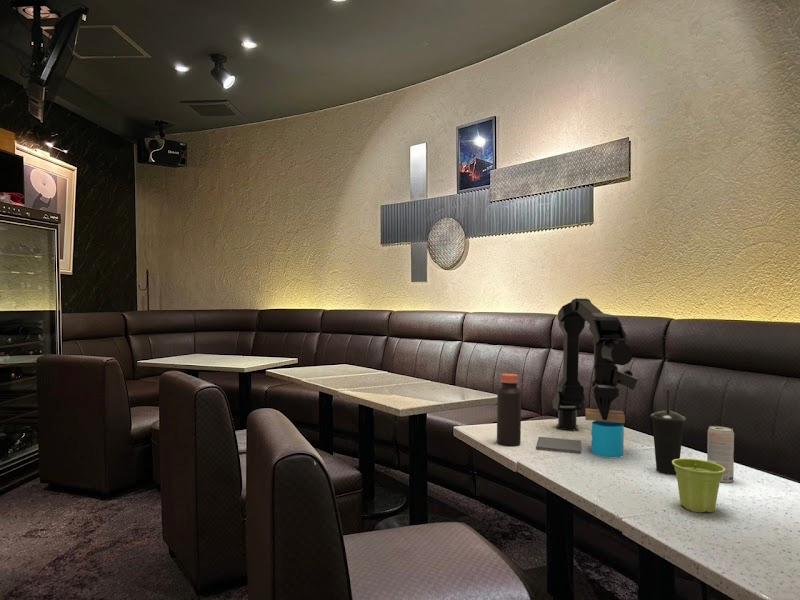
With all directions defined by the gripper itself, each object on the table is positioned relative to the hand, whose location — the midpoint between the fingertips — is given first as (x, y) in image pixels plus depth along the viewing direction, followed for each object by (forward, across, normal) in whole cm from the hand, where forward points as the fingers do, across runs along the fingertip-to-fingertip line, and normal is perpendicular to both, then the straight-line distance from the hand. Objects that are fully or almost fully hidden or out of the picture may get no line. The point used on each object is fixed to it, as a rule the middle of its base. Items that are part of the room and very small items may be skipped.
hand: (604, 417), depth 150 cm
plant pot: (+10, -38, -16) cm, 42 cm away
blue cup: (+10, 0, 0) cm, 10 cm away
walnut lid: (0, 0, 0) cm, 1 cm away
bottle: (+10, -1, +26) cm, 28 cm away
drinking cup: (+10, -14, -14) cm, 22 cm away
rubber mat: (+10, +1, +12) cm, 15 cm away
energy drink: (+10, -16, -25) cm, 31 cm away
